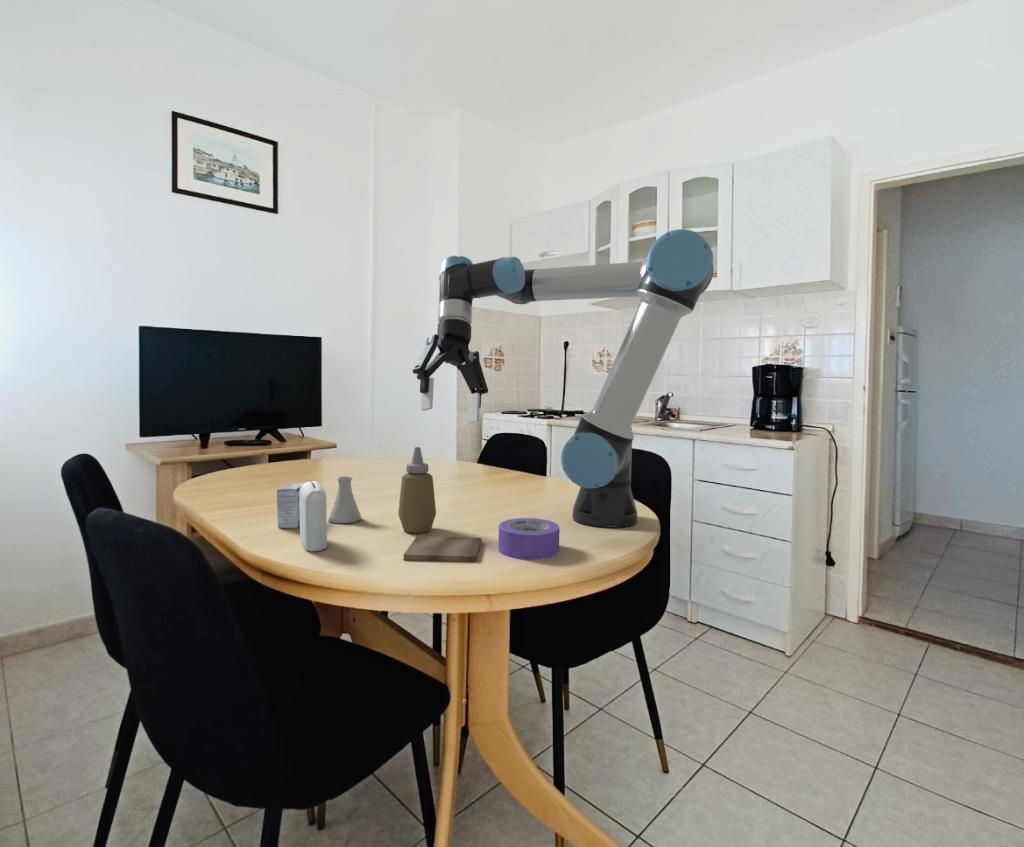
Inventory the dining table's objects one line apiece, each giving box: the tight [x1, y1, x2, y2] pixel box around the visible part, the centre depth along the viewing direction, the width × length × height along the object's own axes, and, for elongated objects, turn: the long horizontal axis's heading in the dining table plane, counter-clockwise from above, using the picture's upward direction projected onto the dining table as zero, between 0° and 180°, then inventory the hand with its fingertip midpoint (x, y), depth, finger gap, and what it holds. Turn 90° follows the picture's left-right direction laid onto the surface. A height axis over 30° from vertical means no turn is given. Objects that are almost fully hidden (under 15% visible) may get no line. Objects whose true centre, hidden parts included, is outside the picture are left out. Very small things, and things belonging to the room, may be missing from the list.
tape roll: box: [497, 517, 560, 561], centre depth 108 cm, size 12×12×5 cm
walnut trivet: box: [403, 535, 482, 563], centre depth 106 cm, size 13×12×1 cm
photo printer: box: [299, 480, 328, 552], centre depth 109 cm, size 10×4×12 cm, turn 27°
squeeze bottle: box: [397, 446, 437, 534], centre depth 120 cm, size 8×8×18 cm
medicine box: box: [276, 482, 305, 529], centre depth 124 cm, size 8×4×9 cm, turn 179°
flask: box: [327, 475, 362, 524], centre depth 128 cm, size 7×7×10 cm
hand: (451, 416), depth 120 cm, fingers open, 13 cm apart
